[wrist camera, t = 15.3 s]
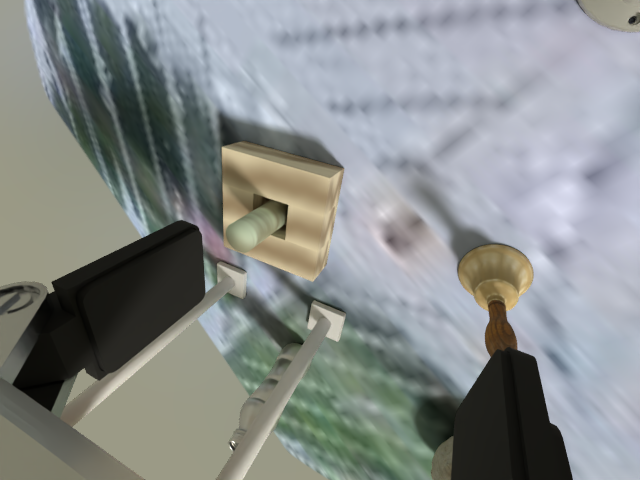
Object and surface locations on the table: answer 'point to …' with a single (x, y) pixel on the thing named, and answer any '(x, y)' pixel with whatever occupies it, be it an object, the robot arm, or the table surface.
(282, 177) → the socket block
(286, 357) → the plastic bottle
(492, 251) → the hand bell
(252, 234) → the peg
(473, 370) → the table surface
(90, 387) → the two-post wooden stand
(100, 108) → the table surface
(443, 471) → the grey rounded lump
